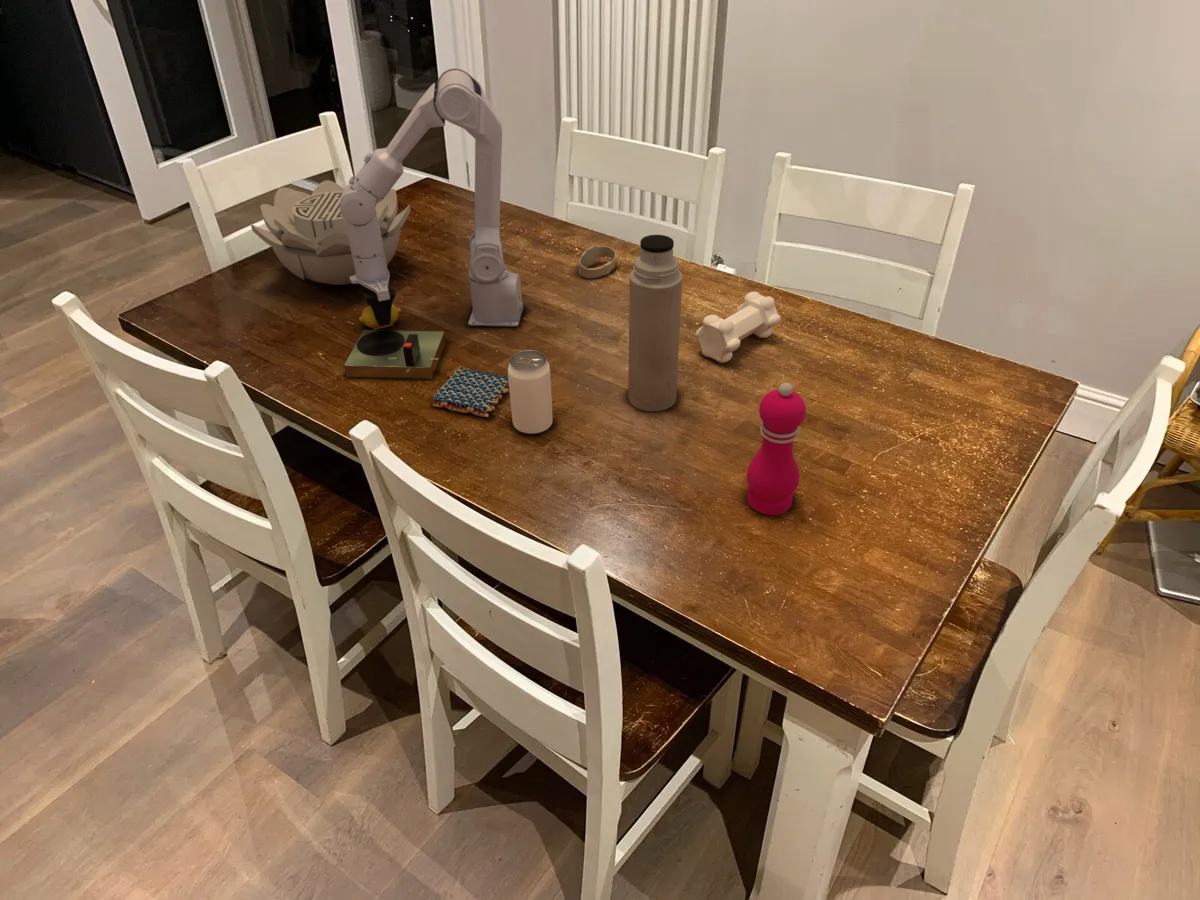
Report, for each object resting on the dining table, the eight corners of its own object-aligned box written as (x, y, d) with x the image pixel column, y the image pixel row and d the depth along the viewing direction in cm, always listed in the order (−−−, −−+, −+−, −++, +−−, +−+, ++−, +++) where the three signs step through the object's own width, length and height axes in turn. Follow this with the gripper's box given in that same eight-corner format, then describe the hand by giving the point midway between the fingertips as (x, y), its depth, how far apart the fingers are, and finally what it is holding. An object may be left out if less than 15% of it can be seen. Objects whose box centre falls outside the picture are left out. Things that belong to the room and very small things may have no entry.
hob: (450, 343, 158) (449, 330, 156) (434, 385, 147) (432, 372, 145) (365, 341, 159) (363, 329, 157) (343, 383, 148) (340, 370, 146)
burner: (409, 331, 156) (409, 330, 156) (398, 356, 150) (398, 355, 150) (364, 330, 157) (364, 329, 157) (351, 355, 150) (350, 354, 150)
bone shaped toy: (729, 371, 149) (733, 330, 144) (691, 353, 154) (693, 313, 149) (780, 339, 157) (786, 299, 152) (743, 322, 162) (747, 283, 157)
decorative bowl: (406, 308, 168) (394, 236, 159) (255, 308, 169) (234, 237, 159) (432, 241, 192) (422, 175, 183) (299, 242, 192) (283, 176, 183)
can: (547, 437, 135) (543, 373, 127) (507, 432, 136) (501, 368, 128) (557, 413, 140) (553, 350, 132) (518, 409, 141) (513, 346, 133)
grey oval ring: (603, 259, 184) (603, 237, 181) (624, 268, 180) (624, 246, 177) (571, 272, 179) (570, 250, 176) (591, 282, 176) (591, 260, 172)
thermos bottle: (636, 380, 147) (638, 225, 130) (681, 389, 145) (690, 232, 128) (622, 406, 141) (622, 247, 124) (668, 415, 139) (676, 255, 122)
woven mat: (429, 408, 142) (427, 398, 140) (459, 374, 149) (458, 364, 148) (486, 420, 139) (485, 410, 137) (514, 385, 146) (513, 375, 145)
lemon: (399, 315, 166) (395, 294, 163) (405, 325, 163) (402, 304, 160) (358, 324, 163) (353, 304, 161) (364, 335, 160) (359, 314, 157)
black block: (412, 351, 151) (408, 332, 148) (420, 351, 151) (417, 332, 148) (405, 365, 147) (402, 346, 145) (414, 366, 147) (411, 346, 145)
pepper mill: (738, 485, 125) (752, 370, 113) (787, 482, 126) (806, 366, 113) (749, 519, 119) (765, 401, 107) (801, 516, 120) (821, 398, 108)
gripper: (336, 240, 158) (350, 306, 166) (355, 272, 147) (369, 341, 156) (374, 233, 160) (386, 298, 168) (395, 264, 150) (407, 331, 158)
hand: (380, 318), depth 162 cm, fingers closed on lemon, 4 cm apart
